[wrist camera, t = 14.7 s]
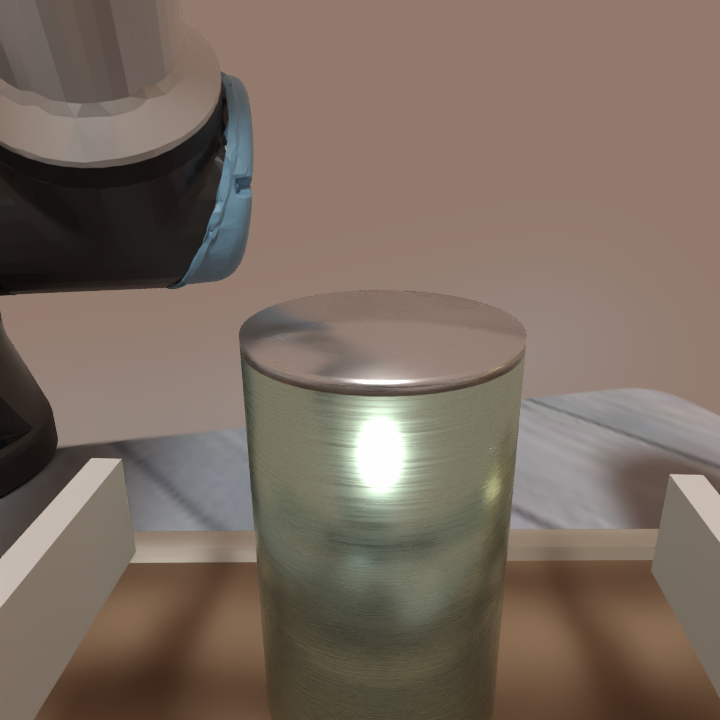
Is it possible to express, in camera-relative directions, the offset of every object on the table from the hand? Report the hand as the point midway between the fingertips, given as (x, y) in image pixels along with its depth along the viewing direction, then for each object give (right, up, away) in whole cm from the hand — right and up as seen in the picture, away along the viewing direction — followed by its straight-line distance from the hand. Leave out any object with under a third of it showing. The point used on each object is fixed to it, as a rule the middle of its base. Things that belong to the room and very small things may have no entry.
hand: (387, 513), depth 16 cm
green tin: (0, -7, +6) cm, 9 cm away
